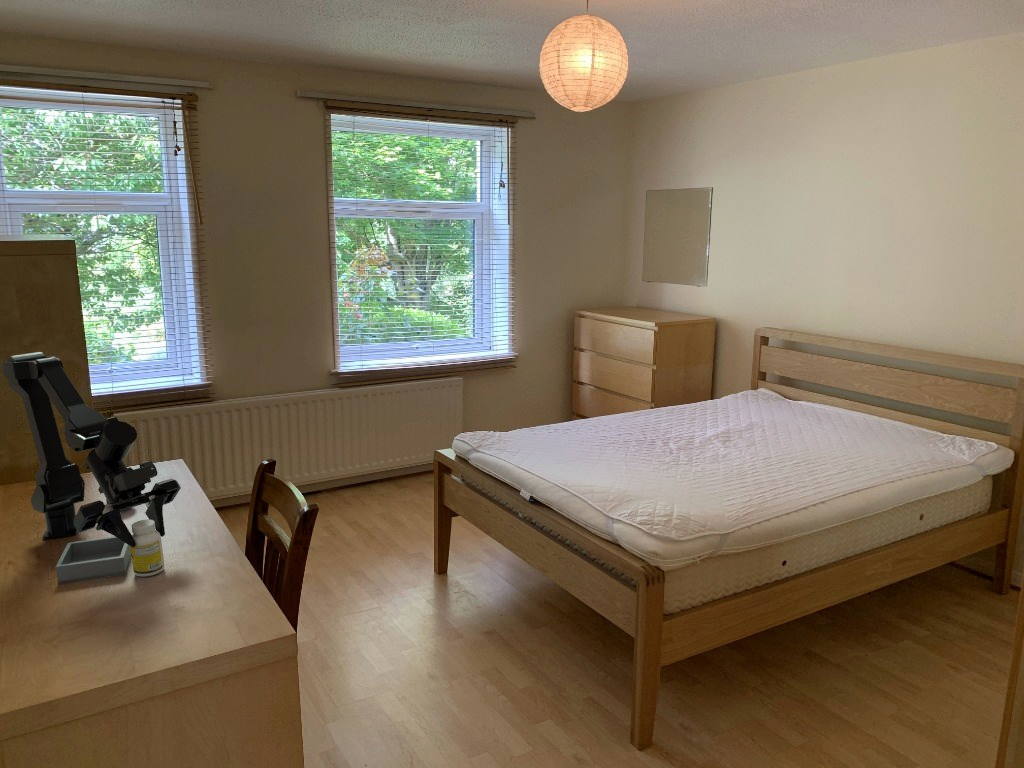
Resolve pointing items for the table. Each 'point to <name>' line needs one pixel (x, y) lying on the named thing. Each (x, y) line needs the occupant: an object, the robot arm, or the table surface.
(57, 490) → the robot arm
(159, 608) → the table surface
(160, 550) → the supplement bottle
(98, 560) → the tray
